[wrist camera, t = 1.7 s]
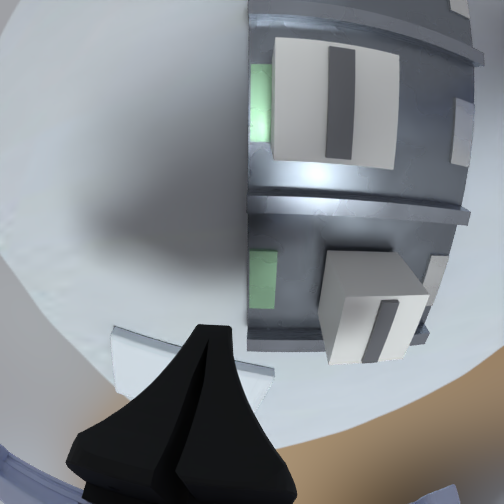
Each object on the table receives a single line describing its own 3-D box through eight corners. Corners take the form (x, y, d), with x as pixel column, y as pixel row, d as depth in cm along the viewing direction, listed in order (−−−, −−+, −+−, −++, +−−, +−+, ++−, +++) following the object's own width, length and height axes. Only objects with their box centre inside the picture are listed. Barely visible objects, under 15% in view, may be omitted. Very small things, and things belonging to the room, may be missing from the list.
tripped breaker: (397, 252, 14) (431, 297, 11) (380, 311, 16) (403, 362, 12) (327, 250, 14) (346, 299, 11) (317, 313, 16) (329, 368, 12)
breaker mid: (361, 69, 10) (401, 54, 7) (357, 152, 12) (395, 171, 8) (272, 59, 10) (275, 35, 7) (270, 146, 12) (274, 161, 8)
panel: (443, -49, 6) (459, -60, 4) (413, 323, 18) (424, 344, 16) (252, -91, 7) (250, -110, 5) (248, 327, 19) (246, 351, 17)
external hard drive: (117, 321, 20) (274, 363, 21) (121, 381, 24) (247, 414, 25) (109, 335, 19) (275, 380, 20) (115, 393, 22) (246, 428, 23)
